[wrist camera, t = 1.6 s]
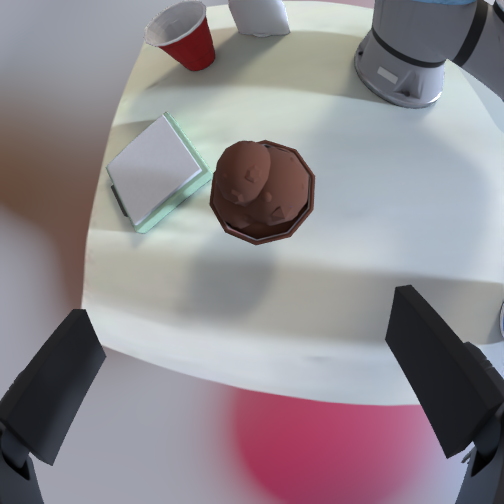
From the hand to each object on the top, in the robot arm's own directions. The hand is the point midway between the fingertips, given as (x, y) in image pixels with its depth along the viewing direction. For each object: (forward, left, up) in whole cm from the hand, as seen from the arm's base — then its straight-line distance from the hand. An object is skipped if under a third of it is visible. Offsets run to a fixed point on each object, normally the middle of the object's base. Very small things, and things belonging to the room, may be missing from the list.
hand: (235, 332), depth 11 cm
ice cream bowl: (-4, -10, -26) cm, 28 cm away
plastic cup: (-10, -41, -26) cm, 49 cm away
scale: (+7, -26, -26) cm, 37 cm away
